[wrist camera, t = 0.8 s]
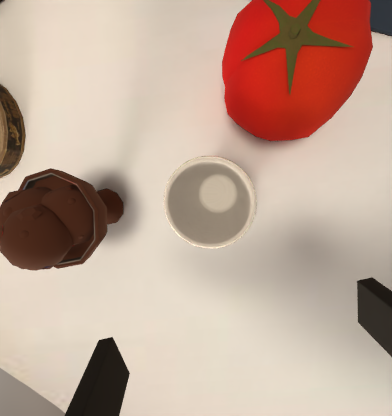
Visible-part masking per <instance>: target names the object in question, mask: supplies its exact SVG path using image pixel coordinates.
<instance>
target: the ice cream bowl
mask: <svg viewBox="0 0 392 416" xmlns="http://www.w3.org/2000/svg"><path fill="white" fill-rule="evenodd" d="M122 215H123V202H122V200H121V199H120V197H119V196H118V194H117V193H116V192H114V191H111V190H109V189H103V190H100V191H97V192H96V190H95V188H94V187H93V185H91V184H89V183H88V182H86V181H83V180H81V179H79V178H77V177H74V176H72V175H70V174H67V173H65V172H63V171H59V170H55V169H48V170H45V171H42V172H39V173H36V174H33V175H30V176H27V177H25V179H24V180H23V182H22V184H21V186H20V188H19V190H18V191H14V192H9V194H8V195H7V196H6V198H5V199H4V201H3V202H2V205H1V207H0V252H1V253H2V254H3V255H4V256H5V257H6V258H7V259H8V260H9V262H10V263H11V264H12V265H14V266H18V267H19V268H21V269H28V270H39V269H50V268H52V267H53V266H54V267H56V268H63V267H68V266H74V265H79V264H83V263H84V262H85V261H86V260H87V259H88V258H89V257H90V256H91V255H92V254H93V252H94V251H95V249H96V248H97V247H98V245H99V244H100V242H101V241H102V240H103V238H104V237H105V235H106V233H107V224H112V223H116V222H118V220H119V219H120V218H121V216H122Z"/></svg>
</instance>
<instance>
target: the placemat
mask: <svg viewBox="0 0 392 416" xmlns="http://www.w3.org/2000/svg"><path fill="white" fill-rule="evenodd" d="M369 1H370V3H371V10H370V28H371V31H375V32H379V33H382V34H386V35H390V36H392V0H369Z"/></svg>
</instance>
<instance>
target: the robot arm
mask: <svg viewBox="0 0 392 416" xmlns="http://www.w3.org/2000/svg"><path fill="white" fill-rule="evenodd" d="M357 289H358V323H359V324H360V325H361V326H362V327H363V328H364V329H365V330H366V331H367V332H368V333H369V334H370V335H371V336H372V337H373V338H374V339H375V340H376V341H377V342H378V343H379V344H380V345H381V346H382V347H383V348H384V349H385V350H386V351H387V352H388V353H389V354H390V356H391V357H392V291H391V290H389V289H388V288H386V287H385V286H384V285H382V284H381V283H379V282H378V281H376V280H375V279H374V278H368V279H363V280H359V281H357ZM129 374H130V373H129V371H128V369H127V367H126V365H125V362H124V360H123V358H122V356H121V354H120V352H119V350H118V347H117V345H116V343H115V341H114V339H113V337H111V338H107V339H102V340H99V341H98V343H97V346H96V348H95V350H94V352H93V354H92V357H91V359H90V361H89V363H88V365H87V368H86V370H85V372H84V374H83V376H82V379H81V381H80V383H79V385H78V387H77V390H76V392H75V394H74V396H73V399H72V401H71V403H70V405H69V407H68V410H67V412H66V414H65V416H119V414H120V410H121V406H122V402H123V398H124V394H125V390H126V386H127V382H128V378H129Z"/></svg>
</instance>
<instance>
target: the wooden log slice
mask: <svg viewBox="0 0 392 416" xmlns="http://www.w3.org/2000/svg"><path fill="white" fill-rule="evenodd" d="M24 142H25V130H24V123H23V118H22V115H21V113H20V110H19V108H18V105H17V103H16V101H15V100H14V98H13V97H12V96H11V94H10V93H9V92H8V90H7V89H6V88H5V87H3V86H2V85H0V178H1V177H3V176H5V175H8V174H10V173H11V171H12V170H13V169H14V168H15V167H16V166H17V165H18V163H19V161H20V158H21V156H22V154H23V151H24Z"/></svg>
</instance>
